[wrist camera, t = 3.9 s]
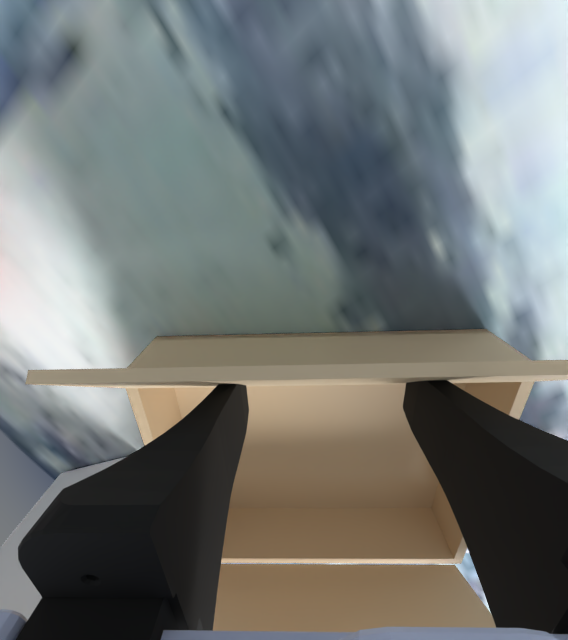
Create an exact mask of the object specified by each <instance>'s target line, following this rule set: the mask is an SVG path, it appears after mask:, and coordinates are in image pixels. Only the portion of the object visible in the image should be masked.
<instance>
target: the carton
mask: <svg viewBox="0 0 568 640" xmlns="http://www.w3.org/2000/svg"><path fill="white" fill-rule="evenodd" d="M484 361H532V360H530V359H529V358H527V357H526V356H524V355H523V354H522V353H520V352H519V351H517V350H516V349H514V348H513V347H511V346H510V345H509V344H507V343H506V342H504V341H503V340H501V339H500V338H498V337H497V336H495V335H494V334H493V333H491V332H490V331H488V330H487V329H462V330H418V331H374V332H330V333H286V334H242V335H198V336H156V337H155V339H154V340H153V341H152V342H151V343H150V344H149V345H148V346H147V347H146V348H145V349H144V350H143V351H142V352H141V354H140V355H139V356H138V357H137V358H136V359H135V360H134V361H133V362H132V363H131V364H130V365H129V366H128V367H127V368H171V367H223V366H275V365H328V364H380V363H432V362H484ZM452 384H454V385H456V386H457V387H459V388H461V389H462V390H464V391H466V392H467V393H469V394H471V395H472V396H474V397H476V398H478V399H479V400H481V401H483V402H485V403H487V404H489V405H490V406H492V407H494V408H496V409H498V410H500V411H502V412H504V413H506V414H508V415H510V416H512V417H514V418H516V419H518V420H519V419H520V416H521V414H522V411H523V409H524V406H525V404H526V401H527V399H528V397H529V394H530V392H531V389H532V387H533V384H534V382H486V383H452ZM214 388H215V387H188V388H126V391H127V394H128V397H129V400H130V403H131V406H132V409H133V412H134V415H135V418H136V421H137V424H138V427H139V430H140V433H141V436H142V440H143V443H144V446H145V445H147V444H148V443H150V442H151V441H153V440H154V439H156V438H157V437H159V436H160V435H162V434H163V433H165V432H166V431H167V430H169V429H170V428H171V427H173V426H174V425H175V424H177V423H178V422H179V421H180V420H182V419H183V418H184V417H185V416H186V415H188V414H189V413H190V412H191V411H192V410H193V409H194V408H195V407H196V406H197V405H198V404H200V403H201V402H202V401H203V400H204V399H205V398H206V397H207V396H208V395H209V394H210V393H211V392H212V390H213V389H214ZM246 388H247V396H248V405H249V415H248V424H247V431H246V436H245V440H244V444H243V448H242V452H241V456H240V460H239V464H238V468H237V472H236V476H235V479H234V483H233V488H232V493H231V498H230V504H229V511H228V517H227V524H226V531H225V538H224V545H223V552H222V559H221V563H441V564H461V562H462V560H463V557H464V555H465V553H466V550H467V545H466V543H465V540H464V538H463V535H462V533H461V530H460V528H459V525H458V523H457V521H456V518H455V516H454V514H453V511H452V509H451V506H450V504H449V502H448V499H447V497H446V495H445V493H444V491H443V489H442V487H441V485H440V483H439V481H438V479H437V477H436V475H435V473H434V472H433V470H432V468H431V466H430V464H429V462H428V460H427V459H426V457H425V455H424V453H423V451H422V449H421V448H420V446H419V444H418V442H417V440H416V438H415V436H414V434H413V433H412V431H411V428H410V426H409V423H408V421H407V418H406V415H405V413H404V410H403V401H404V394H405V388H406V384H367V385H307V386H248V387H246Z"/></svg>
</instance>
